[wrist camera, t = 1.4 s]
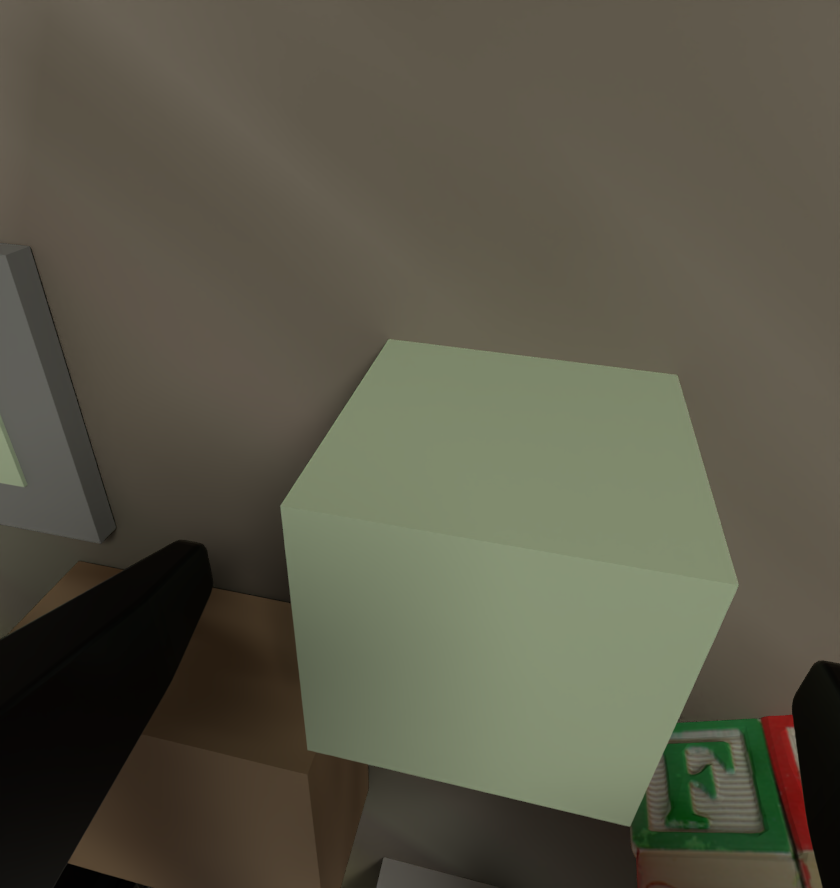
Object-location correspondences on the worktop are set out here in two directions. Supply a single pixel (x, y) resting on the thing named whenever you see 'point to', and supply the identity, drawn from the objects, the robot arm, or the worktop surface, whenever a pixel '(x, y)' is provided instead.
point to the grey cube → (420, 877)
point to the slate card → (42, 418)
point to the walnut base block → (224, 764)
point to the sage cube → (506, 575)
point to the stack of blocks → (726, 810)
